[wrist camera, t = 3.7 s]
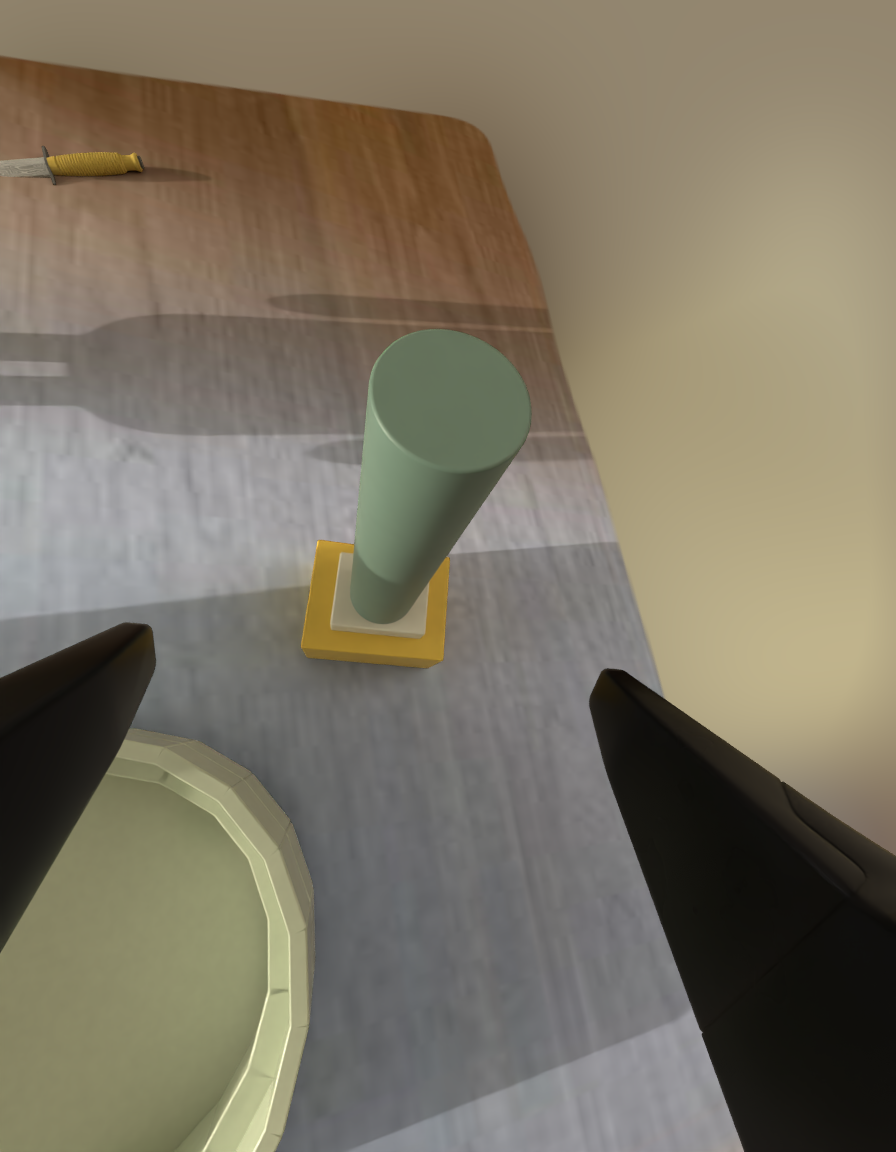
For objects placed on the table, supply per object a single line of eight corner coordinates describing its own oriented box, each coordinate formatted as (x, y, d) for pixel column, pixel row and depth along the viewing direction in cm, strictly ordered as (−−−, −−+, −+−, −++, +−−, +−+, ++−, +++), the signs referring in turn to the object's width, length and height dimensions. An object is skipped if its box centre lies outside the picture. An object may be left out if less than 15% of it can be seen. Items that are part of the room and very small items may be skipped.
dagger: (-123, 190, 20) (-136, 145, 20) (-104, 207, 21) (-117, 164, 21) (144, 173, 23) (132, 133, 23) (151, 189, 23) (139, 151, 23)
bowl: (376, 1057, 15) (388, 1167, 12) (-170, 1442, 11) (-429, 1814, 7) (241, 667, 18) (215, 655, 14) (-251, 857, 14) (-477, 912, 10)
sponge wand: (435, 578, 21) (619, 319, 7) (428, 668, 19) (633, 566, 6) (320, 563, 20) (281, 233, 6) (306, 657, 18) (216, 505, 5)
